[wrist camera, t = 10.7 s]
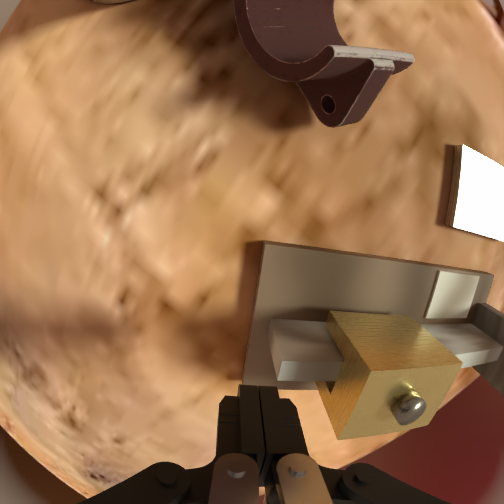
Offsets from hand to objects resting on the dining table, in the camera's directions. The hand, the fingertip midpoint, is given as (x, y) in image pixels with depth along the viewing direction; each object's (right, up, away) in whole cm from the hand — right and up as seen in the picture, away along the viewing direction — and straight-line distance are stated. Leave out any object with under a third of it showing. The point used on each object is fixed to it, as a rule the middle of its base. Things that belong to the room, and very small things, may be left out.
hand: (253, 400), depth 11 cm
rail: (+10, +1, +8) cm, 13 cm away
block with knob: (+7, 0, +6) cm, 9 cm away
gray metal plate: (+18, +10, +6) cm, 22 cm away
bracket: (+2, +22, +3) cm, 22 cm away
